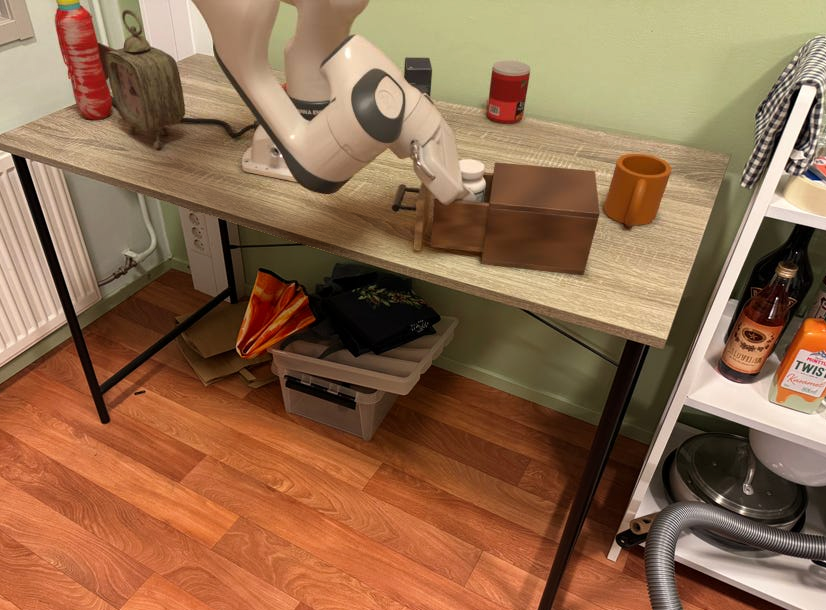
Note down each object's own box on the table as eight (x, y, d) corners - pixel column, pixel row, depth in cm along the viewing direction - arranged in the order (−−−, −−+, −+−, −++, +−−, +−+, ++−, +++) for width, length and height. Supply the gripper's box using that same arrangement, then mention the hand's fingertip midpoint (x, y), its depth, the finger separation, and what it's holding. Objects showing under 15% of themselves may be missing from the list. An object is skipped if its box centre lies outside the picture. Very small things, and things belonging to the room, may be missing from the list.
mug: (591, 225, 117) (603, 176, 111) (611, 196, 124) (623, 149, 118) (644, 239, 113) (660, 189, 107) (661, 208, 121) (677, 160, 115)
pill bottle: (450, 210, 114) (455, 155, 108) (484, 216, 113) (491, 160, 106) (442, 227, 110) (447, 170, 103) (476, 233, 109) (484, 176, 102)
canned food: (522, 125, 148) (530, 73, 141) (485, 122, 149) (491, 71, 142) (522, 111, 154) (531, 61, 146) (487, 109, 155) (493, 59, 148)
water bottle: (111, 101, 161) (83, -17, 144) (134, 108, 157) (108, -12, 140) (69, 118, 153) (34, -5, 137) (92, 126, 150) (59, 1, 133)
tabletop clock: (121, 133, 147) (91, 7, 130) (158, 121, 151) (133, -2, 135) (156, 154, 139) (128, 23, 122) (193, 142, 143) (172, 13, 127)
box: (429, 117, 152) (432, 68, 145) (403, 117, 152) (406, 68, 145) (426, 104, 158) (429, 56, 151) (402, 104, 158) (404, 56, 151)
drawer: (387, 246, 110) (388, 197, 104) (399, 208, 119) (401, 161, 114) (505, 259, 107) (513, 209, 101) (508, 219, 116) (516, 171, 110)
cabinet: (481, 264, 108) (489, 202, 101) (486, 220, 118) (494, 162, 111) (583, 275, 105) (599, 213, 98) (580, 229, 115) (595, 170, 108)
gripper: (430, 144, 92) (493, 210, 98) (425, 88, 107) (480, 148, 113) (396, 174, 95) (459, 236, 101) (396, 116, 110) (451, 173, 117)
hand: (470, 189), depth 107 cm, fingers closed on pill bottle, 6 cm apart
